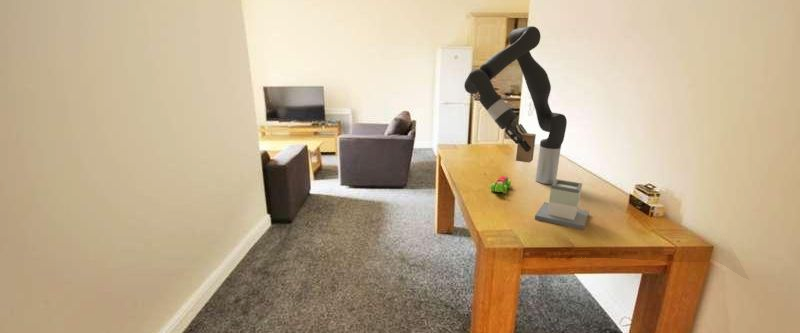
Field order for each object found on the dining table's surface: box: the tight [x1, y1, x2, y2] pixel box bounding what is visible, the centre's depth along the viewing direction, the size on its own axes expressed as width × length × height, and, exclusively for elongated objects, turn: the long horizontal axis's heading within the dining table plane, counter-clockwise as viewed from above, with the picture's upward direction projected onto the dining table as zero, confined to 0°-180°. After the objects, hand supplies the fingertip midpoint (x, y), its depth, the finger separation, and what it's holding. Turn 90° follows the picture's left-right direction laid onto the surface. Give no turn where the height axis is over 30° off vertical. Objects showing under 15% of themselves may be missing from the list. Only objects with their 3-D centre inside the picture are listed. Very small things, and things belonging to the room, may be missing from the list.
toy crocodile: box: [490, 175, 512, 195], centre depth 161 cm, size 20×7×6 cm, turn 153°
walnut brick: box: [515, 132, 536, 164], centre depth 134 cm, size 5×5×10 cm
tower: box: [534, 178, 590, 231], centre depth 131 cm, size 16×16×13 cm
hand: (530, 148), depth 133 cm, fingers closed on walnut brick, 5 cm apart
